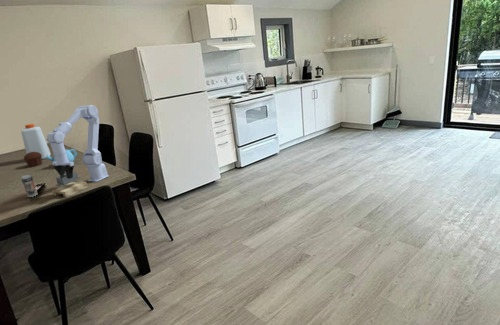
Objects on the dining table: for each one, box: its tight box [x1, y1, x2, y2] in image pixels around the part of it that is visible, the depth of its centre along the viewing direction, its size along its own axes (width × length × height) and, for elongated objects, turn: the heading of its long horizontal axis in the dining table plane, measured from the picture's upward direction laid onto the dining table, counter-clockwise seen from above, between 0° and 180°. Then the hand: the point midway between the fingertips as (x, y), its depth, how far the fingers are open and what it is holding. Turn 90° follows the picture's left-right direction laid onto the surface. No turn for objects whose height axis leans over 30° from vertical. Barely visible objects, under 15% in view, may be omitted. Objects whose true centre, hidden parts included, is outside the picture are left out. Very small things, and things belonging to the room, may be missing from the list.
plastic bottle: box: [20, 123, 52, 160], centre depth 256 cm, size 15×15×28 cm
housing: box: [55, 171, 81, 187], centre depth 174 cm, size 12×5×5 cm, turn 157°
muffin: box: [23, 152, 43, 168], centre depth 239 cm, size 12×11×10 cm
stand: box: [51, 180, 89, 198], centre depth 176 cm, size 14×10×3 cm
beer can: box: [20, 174, 38, 198], centre depth 173 cm, size 5×5×12 cm
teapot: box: [46, 148, 78, 162], centre depth 231 cm, size 20×17×12 cm
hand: (67, 177), depth 174 cm, fingers closed on housing, 5 cm apart
